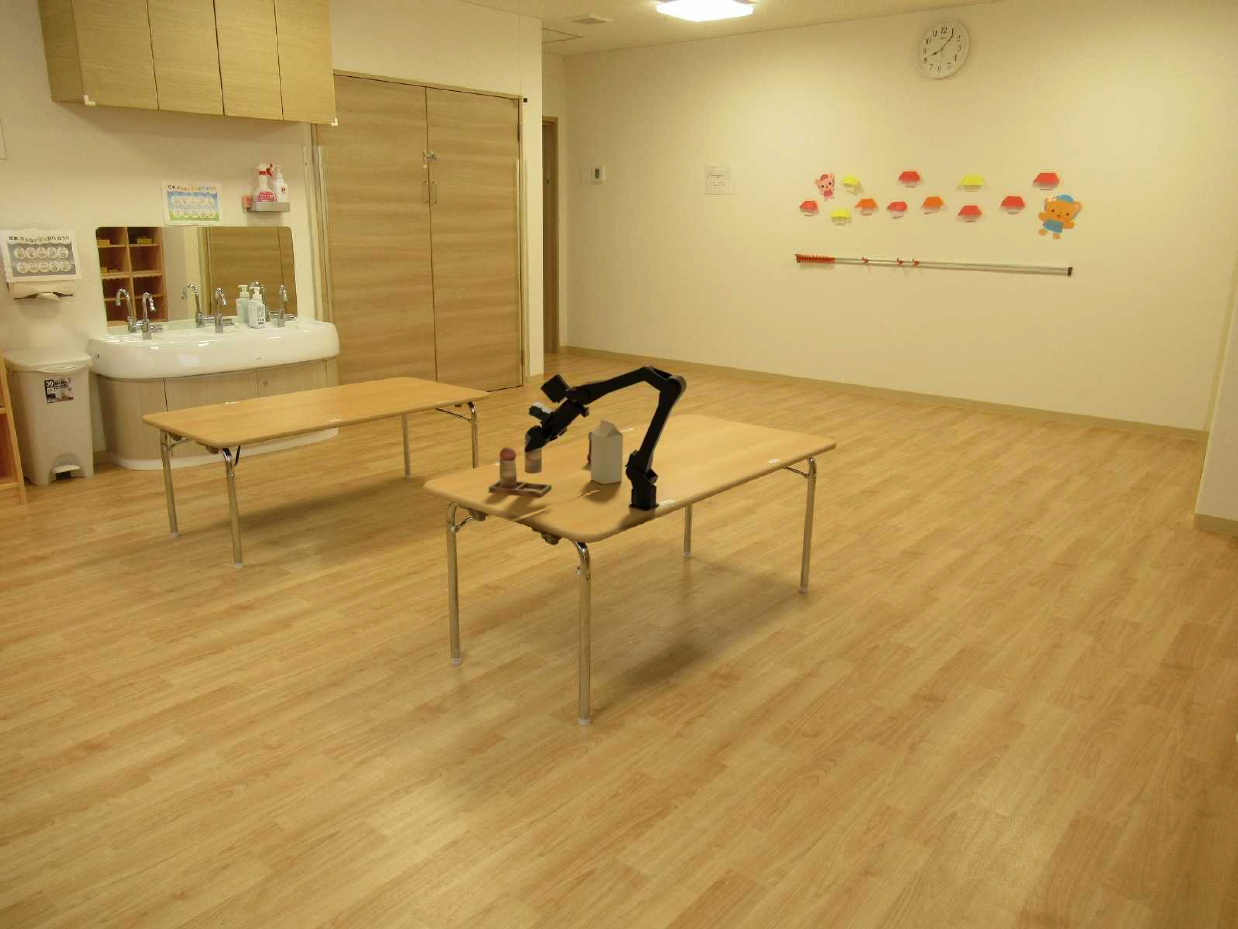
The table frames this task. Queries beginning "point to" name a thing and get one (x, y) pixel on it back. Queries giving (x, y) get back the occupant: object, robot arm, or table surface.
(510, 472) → the red peg doll
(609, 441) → the milk carton
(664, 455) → the table surface
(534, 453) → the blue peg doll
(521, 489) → the doll tray
